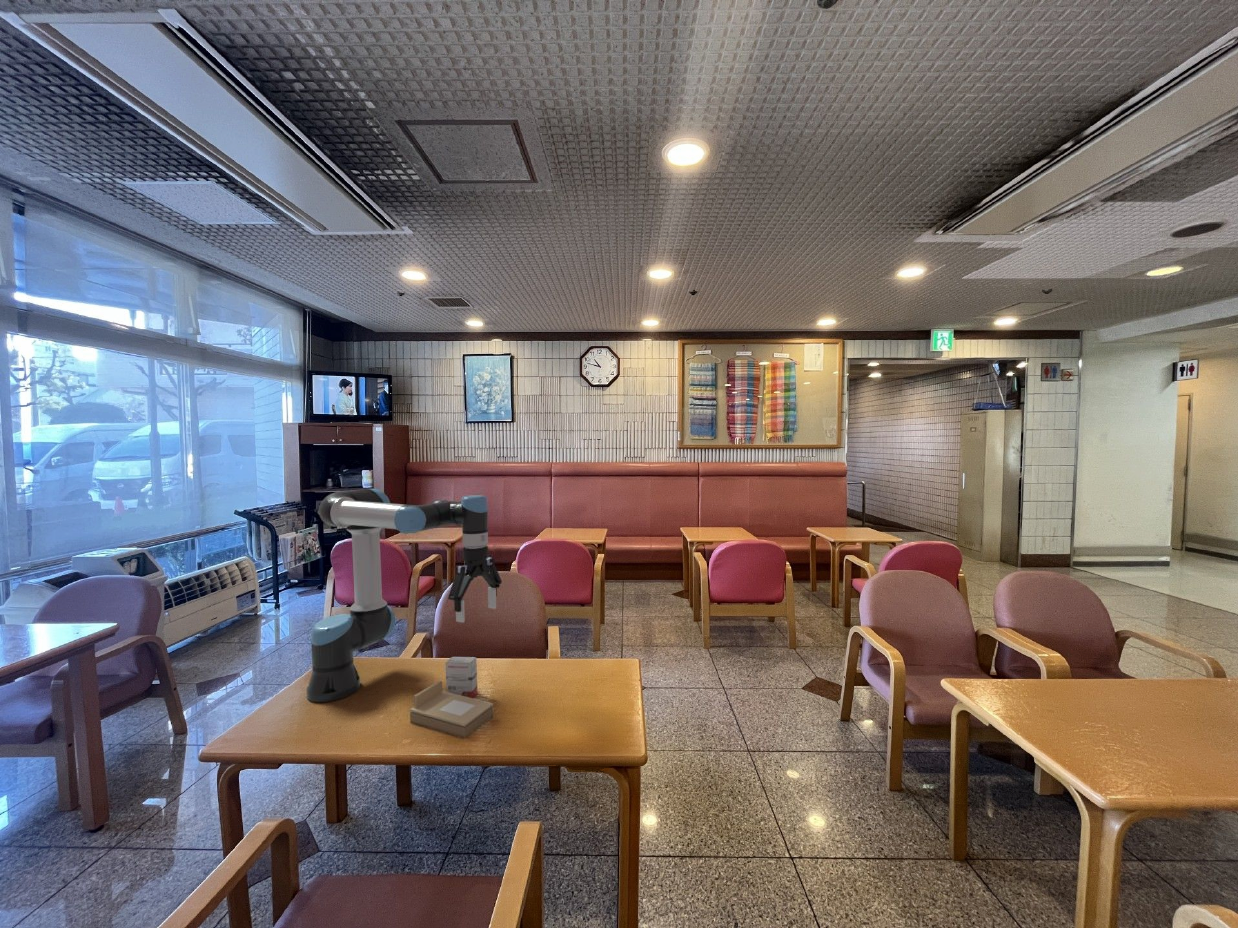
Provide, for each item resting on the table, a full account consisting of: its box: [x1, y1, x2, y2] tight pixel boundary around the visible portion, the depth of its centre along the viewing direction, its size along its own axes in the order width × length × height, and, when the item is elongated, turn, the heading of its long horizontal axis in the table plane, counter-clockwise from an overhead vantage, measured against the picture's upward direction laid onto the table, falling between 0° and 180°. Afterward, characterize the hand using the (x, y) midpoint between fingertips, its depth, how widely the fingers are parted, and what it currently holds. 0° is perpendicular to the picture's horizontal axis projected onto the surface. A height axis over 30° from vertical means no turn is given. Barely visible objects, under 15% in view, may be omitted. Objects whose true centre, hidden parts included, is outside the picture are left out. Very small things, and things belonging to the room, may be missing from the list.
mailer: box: [409, 705, 494, 740], centre depth 143 cm, size 20×12×3 cm, turn 66°
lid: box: [409, 680, 494, 727], centre depth 143 cm, size 20×12×4 cm, turn 66°
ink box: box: [445, 656, 479, 699], centre depth 157 cm, size 9×5×12 cm, turn 84°
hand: (476, 614), depth 152 cm, fingers open, 13 cm apart
